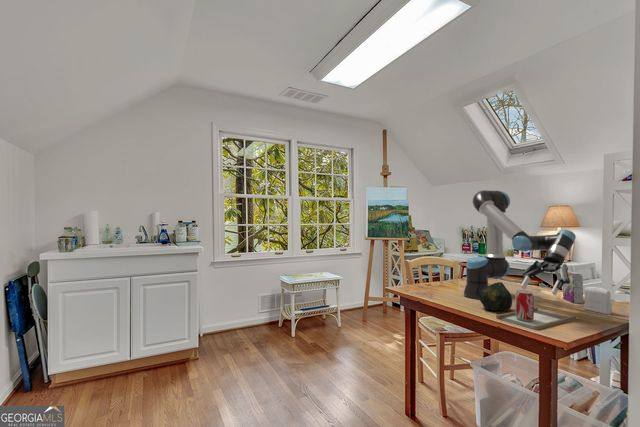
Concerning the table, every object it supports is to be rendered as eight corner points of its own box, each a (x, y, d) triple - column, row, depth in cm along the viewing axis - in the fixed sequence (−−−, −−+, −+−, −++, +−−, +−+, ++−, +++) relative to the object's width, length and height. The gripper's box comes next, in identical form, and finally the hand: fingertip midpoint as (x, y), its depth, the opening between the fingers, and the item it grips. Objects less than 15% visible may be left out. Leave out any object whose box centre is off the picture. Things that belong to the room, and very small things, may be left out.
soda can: (512, 317, 150) (512, 289, 150) (528, 317, 149) (528, 289, 149) (520, 322, 143) (519, 293, 143) (537, 322, 142) (536, 293, 142)
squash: (469, 297, 167) (488, 278, 160) (483, 294, 176) (502, 276, 169) (490, 320, 158) (511, 301, 151) (503, 316, 167) (524, 298, 160)
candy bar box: (562, 298, 185) (561, 270, 186) (571, 299, 184) (571, 270, 185) (573, 303, 174) (572, 273, 175) (583, 304, 173) (583, 274, 174)
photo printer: (612, 314, 154) (612, 288, 155) (608, 315, 153) (607, 289, 153) (587, 308, 164) (587, 284, 164) (583, 309, 162) (582, 285, 162)
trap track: (496, 318, 149) (496, 315, 149) (535, 309, 162) (535, 307, 162) (536, 330, 132) (536, 326, 132) (576, 319, 146) (576, 316, 146)
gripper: (589, 264, 144) (571, 301, 137) (532, 258, 166) (514, 290, 160) (582, 253, 141) (564, 290, 135) (526, 249, 164) (507, 280, 157)
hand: (537, 290), depth 147 cm, fingers open, 13 cm apart
